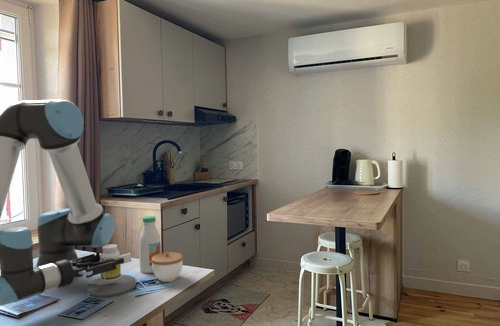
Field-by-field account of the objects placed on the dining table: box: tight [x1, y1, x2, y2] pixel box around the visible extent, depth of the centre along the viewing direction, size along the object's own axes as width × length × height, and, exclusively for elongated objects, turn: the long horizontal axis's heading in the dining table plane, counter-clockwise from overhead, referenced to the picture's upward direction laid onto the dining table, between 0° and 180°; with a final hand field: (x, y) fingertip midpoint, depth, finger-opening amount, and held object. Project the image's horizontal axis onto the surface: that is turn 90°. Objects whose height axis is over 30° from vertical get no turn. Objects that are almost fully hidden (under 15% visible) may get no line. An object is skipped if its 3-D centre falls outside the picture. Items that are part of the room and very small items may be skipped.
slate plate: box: [86, 274, 137, 298], centre depth 123 cm, size 15×15×2 cm
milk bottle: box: [138, 215, 162, 274], centre depth 139 cm, size 8×8×20 cm
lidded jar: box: [151, 251, 184, 283], centre depth 130 cm, size 11×11×9 cm
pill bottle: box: [100, 243, 122, 282], centre depth 123 cm, size 6×6×11 cm
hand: (124, 255), depth 127 cm, fingers closed on pill bottle, 6 cm apart
